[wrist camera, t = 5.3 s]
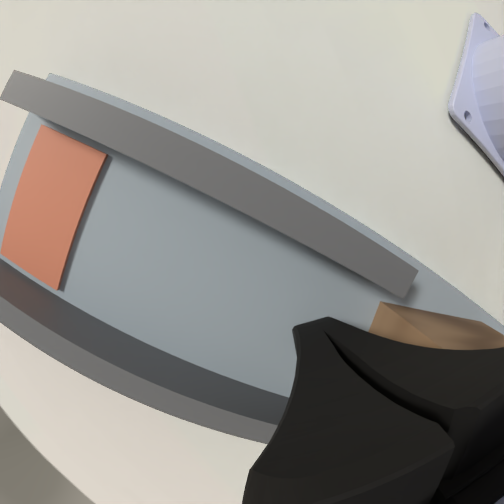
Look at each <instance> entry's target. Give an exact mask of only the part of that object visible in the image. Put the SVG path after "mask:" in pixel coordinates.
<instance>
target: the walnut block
mask: <svg viewBox="0 0 504 504" xmlns="http://www.w3.org/2000/svg"><path fill="white" fill-rule="evenodd" d="M368 332H370V333H372V334H375V335H378V336H381V337H385V338H388V339H391V340H395V341H398V342H403V343H407V344H412V345H417V346H423V347H429V348H438V349H452V350H479V349H494V348H501V347H504V335H503V334H501V333H500V332H498V331H496V330H495V329H493V328H491V327H490V326H488V325H486V324H485V323H483V322H481V321H476V320H471V319H466V318H461V317H455V316H450V315H445V314H440V313H435V312H430V311H425V310H420V309H415V308H411V307H406V306H401V305H396V304H391V303H386V302H382V301H380V303H379V306H378V308H377V311H376V313H375V316H374V319H373V321H372V324H371V326H370V329H369V331H368Z"/></svg>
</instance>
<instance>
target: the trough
mask: <svg viewBox="0 0 504 504" xmlns="http://www.w3.org/2000/svg"><path fill="white" fill-rule="evenodd" d="M0 100H3V101H5V102H8V103H10V104H12V105H15V106H17V107H20V108H22V109H24V110H27V111H29V114H28V116H27V119H26V121H25V123H24V125H23V128H22V130H21V132H20V135H19V137H18V140H17V142H16V145H15V147H14V150H13V153H12V155H11V158H10V161H9V164H8V167H7V170H6V173H5V176H4V179H3V182H2V185H1V188H0V323H2V324H3V325H5V326H6V327H7V328H9V329H10V330H11V331H13V332H14V333H16V334H17V335H18V336H20V337H21V338H23V339H24V340H26V341H27V342H29V343H30V344H32V345H33V346H35V347H36V348H38V349H40V350H41V351H43V352H44V353H46V354H47V355H49V356H51V357H52V358H54V359H56V360H57V361H59V362H61V363H62V364H64V365H66V366H68V367H69V368H71V369H73V370H75V371H77V372H78V373H80V374H82V375H84V376H86V377H88V378H90V379H91V380H93V381H95V382H97V383H99V384H101V385H103V386H105V387H107V388H109V389H111V390H113V391H116V392H118V393H120V394H122V395H124V396H126V397H129V398H131V399H133V400H135V401H138V402H140V403H142V404H145V405H147V406H149V407H152V408H154V409H157V410H159V411H162V412H164V413H167V414H170V415H172V416H175V417H178V418H180V419H183V420H186V421H189V422H192V423H195V424H198V425H201V426H204V427H207V428H210V429H213V430H216V431H220V432H223V433H226V434H230V435H234V436H237V437H241V438H245V439H248V440H252V441H256V442H261V443H265V444H268V443H269V441H270V440H271V438H272V436H273V434H274V432H275V430H276V428H277V426H278V424H279V422H280V420H281V418H282V416H283V414H284V411H285V409H286V406H287V403H288V400H289V397H290V394H291V390H292V386H293V382H294V377H295V370H296V362H297V355H296V349H295V344H294V339H293V333H292V329H293V327H294V326H295V325H299V324H303V323H306V322H310V321H313V320H317V319H320V318H324V317H327V316H329V317H332V318H335V319H337V320H340V321H342V322H344V323H347V324H349V325H352V326H354V327H357V328H359V329H362V330H364V331H367V332H368V331H369V329H370V326H371V324H372V321H373V319H374V316H375V313H376V311H377V308H378V306H379V303H380V301H382V302H386V303H391V304H396V305H401V306H406V307H411V308H415V309H420V310H425V311H430V312H435V313H440V314H445V315H450V316H455V317H461V318H466V319H471V320H476V321H481V322H483V323H485V324H486V325H488V326H490V327H491V328H493V329H495V330H496V331H498V332H500V333H501V334H503V335H504V326H503V325H502V324H500V323H499V322H498V321H497V320H496V319H494V318H493V317H492V316H491V315H489V314H488V313H487V312H486V311H484V310H483V309H482V308H481V307H479V306H478V305H477V304H476V303H474V302H473V301H472V300H471V299H469V298H468V297H467V296H465V295H464V294H463V293H462V292H460V291H459V290H458V289H456V288H455V287H454V286H452V285H451V284H450V283H448V282H447V281H446V280H444V279H443V278H441V277H440V276H439V275H437V274H436V273H435V272H433V271H432V270H430V269H429V268H428V267H426V266H425V265H423V264H422V263H421V262H419V261H418V260H416V259H415V258H413V257H412V256H411V255H409V254H408V253H406V252H405V251H403V250H402V249H400V248H399V247H397V246H396V245H394V244H393V243H391V242H390V241H388V240H387V239H385V238H384V237H382V236H381V235H379V234H378V233H376V232H375V231H373V230H372V229H370V228H368V227H367V226H365V225H364V224H362V223H361V222H359V221H357V220H356V219H354V218H353V217H351V216H349V215H348V214H346V213H345V212H343V211H341V210H340V209H338V208H336V207H335V206H333V205H331V204H330V203H328V202H326V201H325V200H323V199H321V198H320V197H318V196H316V195H314V194H313V193H311V192H309V191H308V190H306V189H304V188H302V187H301V186H299V185H297V184H295V183H294V182H292V181H290V180H288V179H286V178H285V177H283V176H281V175H279V174H277V173H276V172H274V171H272V170H270V169H268V168H266V167H265V166H263V165H261V164H259V163H257V162H255V161H253V160H251V159H249V158H247V157H246V156H244V155H242V154H240V153H238V152H236V151H234V150H232V149H230V148H228V147H226V146H224V145H222V144H220V143H218V142H216V141H214V140H212V139H210V138H208V137H206V136H204V135H201V134H199V133H197V132H195V131H193V130H191V129H189V128H187V127H185V126H182V125H180V124H178V123H176V122H174V121H171V120H169V119H167V118H165V117H162V116H160V115H158V114H156V113H153V112H151V111H149V110H146V109H144V108H142V107H139V106H137V105H135V104H132V103H130V102H127V101H125V100H122V99H120V98H117V97H115V96H112V95H110V94H107V93H105V92H102V91H99V90H97V89H94V88H91V87H89V86H86V85H83V84H81V83H78V82H75V81H72V80H69V79H66V78H63V77H61V76H58V75H55V74H52V73H49V75H48V77H47V79H46V80H44V79H41V78H38V77H35V76H32V75H29V74H25V73H22V72H19V71H16V70H14V71H13V73H12V75H11V77H10V78H9V80H8V82H7V84H6V86H5V88H4V90H3V93H2V95H1V97H0Z"/></svg>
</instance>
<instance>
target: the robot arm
mask: <svg viewBox="0 0 504 504" xmlns="http://www.w3.org/2000/svg"><path fill="white" fill-rule="evenodd" d="M448 110H449V113H450V115H451V117H452V118H453V119H454V120H455V121H456V122H457V123H458V124H459V125H460V126H461V127H462V128H463V130H464V131H465V132H466V133H467V134H468V135H469V136H470V137H471V138H472V139H473V140H474V141H475V142H476V144H477V145H478V146H479V147H480V148H481V149H482V150H483V152H484V153H485V154H486V155H487V156H488V158H489V159H490V160H491V161H492V162H493V164H494V165H495V166H496V167H497V169H498V170H499V171H500V172H501V174H502V175H503V176H504V35H501V36H499V35H498V34H497V32H496V31H495V30H494V29H493V28H492V27H491V26H490V25H489V24H488V22H487V21H486V20H485V19H484V18H483V17H482V16H481V15H480V14H478V13H474V14H472V15H471V17H470V22H469V27H468V32H467V37H466V41H465V45H464V50H463V54H462V58H461V62H460V65H459V69H458V73H457V76H456V80H455V83H454V87H453V90H452V93H451V96H450V100H449V103H448ZM464 115H465V117H466V119H465V117H464ZM292 333H293V339H294V344H295V349H296V355H297V362H296V370H295V377H294V382H293V386H292V390H291V394H290V397H289V400H288V403H287V406H286V409H285V411H284V414H283V416H282V418H281V420H280V422H279V424H278V426H277V428H276V430H275V432H274V434H273V436H272V438H271V440H270V441H269V443H268V445H267V446H266V448H265V449H264V450H263V452H262V453H261V455H260V456H259V458H258V459H257V460H256V462H255V463H254V465H253V466H252V467H251V469H250V470H249V474H248V478H247V482H246V486H245V491H244V496H243V501H242V504H504V347H501V348H494V349H479V350H452V349H438V348H429V347H423V346H417V345H412V344H407V343H403V342H398V341H395V340H391V339H388V338H385V337H381V336H378V335H375V334H372V333H370V332H367V331H364V330H362V329H359V328H357V327H354V326H352V325H349V324H347V323H344V322H342V321H340V320H337V319H335V318H332V317H329V316H327V317H324V318H320V319H317V320H313V321H310V322H306V323H303V324H299V325H295V326H294V327H293V329H292Z"/></svg>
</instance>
